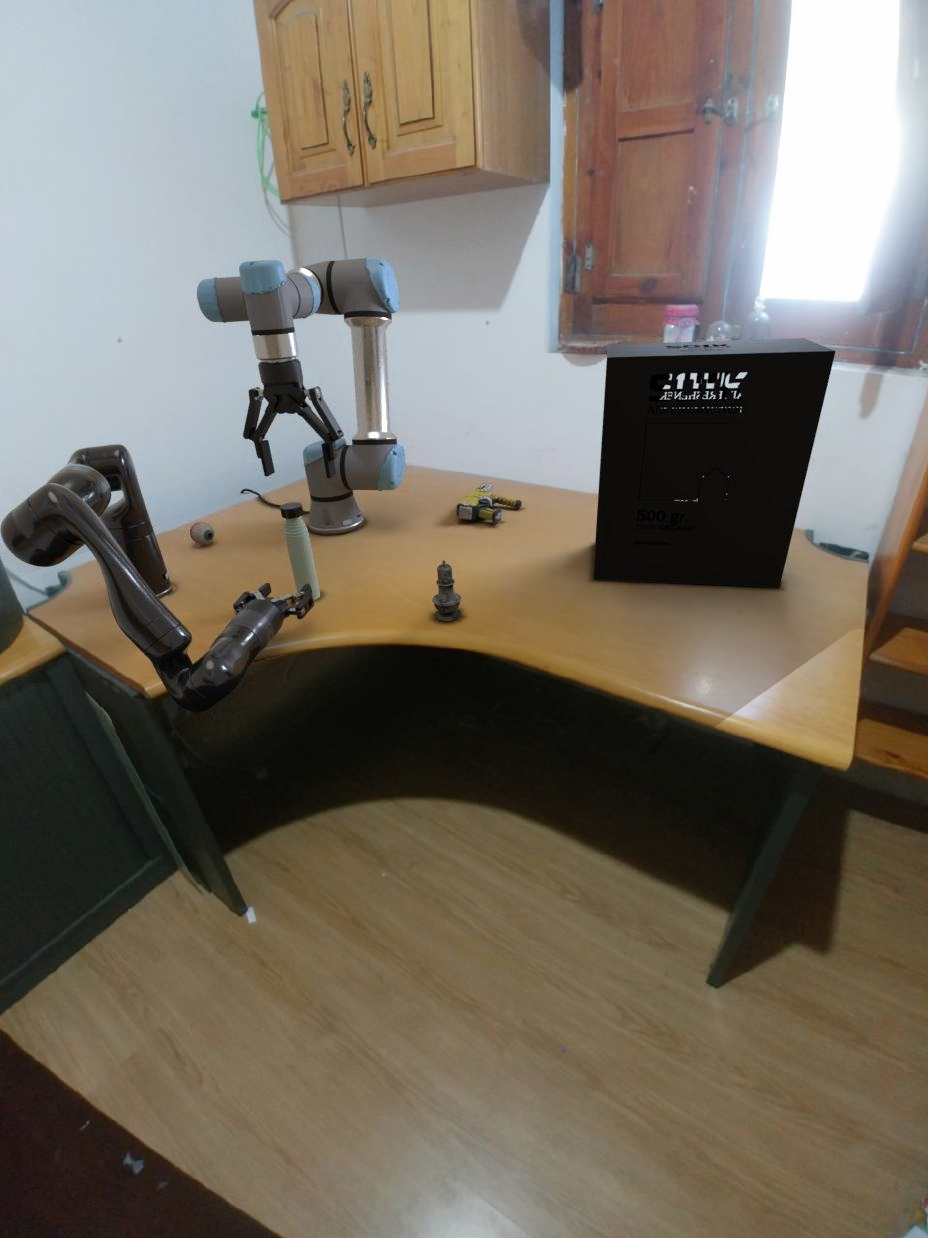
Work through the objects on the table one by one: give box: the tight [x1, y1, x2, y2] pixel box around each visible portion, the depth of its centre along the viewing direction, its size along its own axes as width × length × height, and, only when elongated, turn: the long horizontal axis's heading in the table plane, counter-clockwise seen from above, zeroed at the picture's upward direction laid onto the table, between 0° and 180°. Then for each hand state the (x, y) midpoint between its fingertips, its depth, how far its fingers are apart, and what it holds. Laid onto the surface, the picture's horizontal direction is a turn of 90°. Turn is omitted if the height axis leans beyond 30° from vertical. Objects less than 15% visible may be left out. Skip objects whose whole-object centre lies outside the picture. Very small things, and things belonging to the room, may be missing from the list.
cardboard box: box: [592, 337, 836, 589], centre depth 125 cm, size 38×20×45 cm, turn 78°
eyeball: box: [189, 521, 215, 546], centre depth 160 cm, size 6×6×6 cm
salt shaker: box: [431, 560, 462, 622], centre depth 119 cm, size 6×6×12 cm
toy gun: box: [455, 482, 523, 525], centre depth 172 cm, size 5×24×15 cm
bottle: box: [284, 516, 321, 602], centre depth 127 cm, size 5×5×20 cm
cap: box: [279, 501, 304, 520], centre depth 122 cm, size 4×4×2 cm
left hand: (288, 587), depth 122 cm, fingers open, 8 cm apart
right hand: (300, 475), depth 119 cm, fingers open, 13 cm apart
